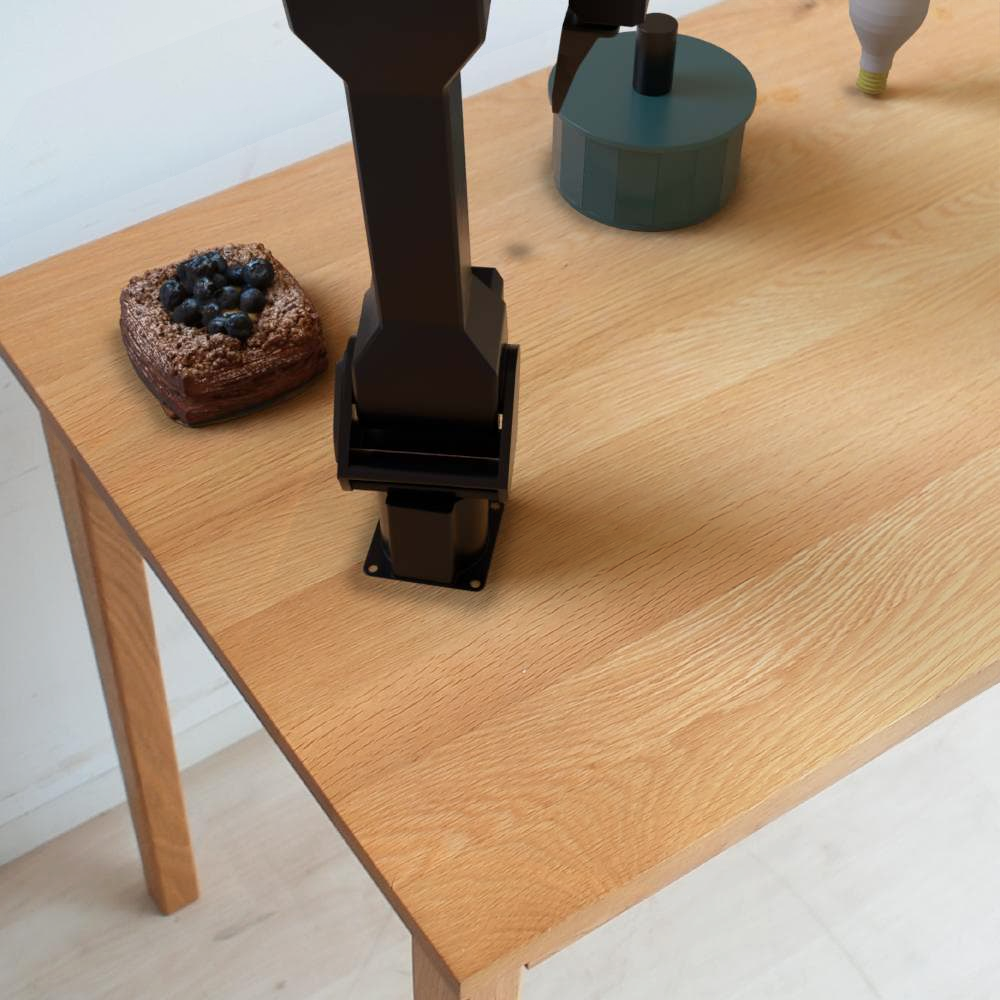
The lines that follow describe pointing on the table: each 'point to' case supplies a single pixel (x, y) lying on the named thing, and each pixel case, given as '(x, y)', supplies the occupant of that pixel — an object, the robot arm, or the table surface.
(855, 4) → the light bulb
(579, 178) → the pot
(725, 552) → the table surface
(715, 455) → the table surface
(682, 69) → the lid
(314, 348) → the pastry
